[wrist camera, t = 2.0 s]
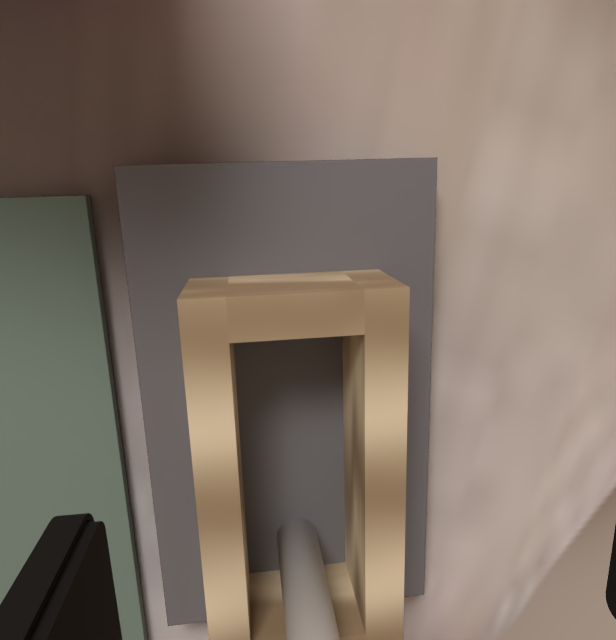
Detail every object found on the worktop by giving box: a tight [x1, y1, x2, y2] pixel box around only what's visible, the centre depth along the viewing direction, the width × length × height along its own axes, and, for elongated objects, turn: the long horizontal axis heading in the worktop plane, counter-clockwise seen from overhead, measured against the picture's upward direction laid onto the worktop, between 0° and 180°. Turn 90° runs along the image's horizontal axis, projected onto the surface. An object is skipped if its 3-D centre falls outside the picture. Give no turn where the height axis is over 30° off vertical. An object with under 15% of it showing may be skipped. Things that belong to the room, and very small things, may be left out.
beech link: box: [177, 269, 410, 640], centre depth 20 cm, size 15×7×4 cm, turn 2°
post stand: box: [114, 158, 437, 640], centre depth 14 cm, size 20×12×20 cm, turn 2°
